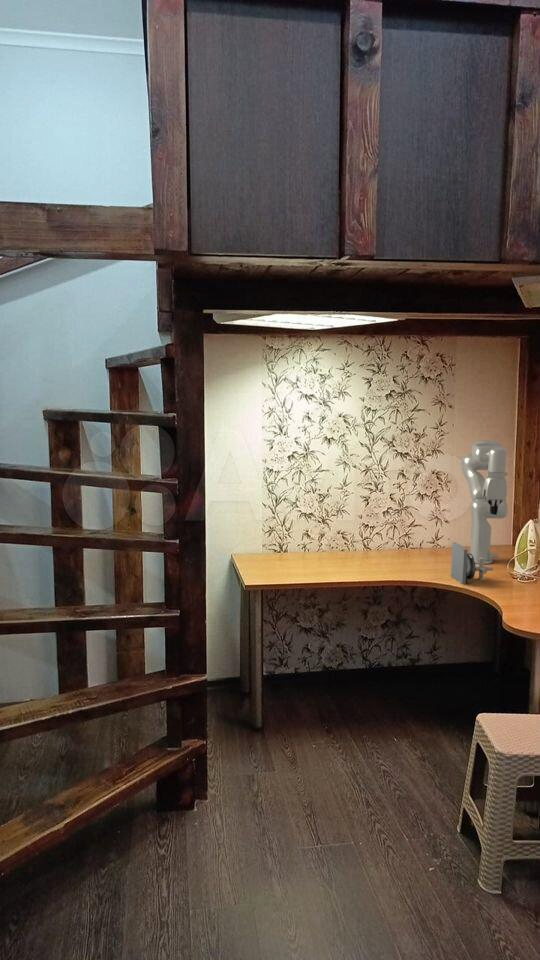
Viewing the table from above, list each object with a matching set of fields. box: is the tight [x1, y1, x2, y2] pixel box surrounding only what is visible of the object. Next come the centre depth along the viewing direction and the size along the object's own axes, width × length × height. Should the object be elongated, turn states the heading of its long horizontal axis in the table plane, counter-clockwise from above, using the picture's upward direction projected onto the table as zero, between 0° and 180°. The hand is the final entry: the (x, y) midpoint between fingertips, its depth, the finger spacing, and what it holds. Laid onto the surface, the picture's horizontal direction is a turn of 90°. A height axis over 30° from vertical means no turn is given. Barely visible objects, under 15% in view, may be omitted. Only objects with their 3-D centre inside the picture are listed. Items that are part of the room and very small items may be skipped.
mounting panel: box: [450, 541, 473, 585], centre depth 296 cm, size 6×13×16 cm, turn 7°
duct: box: [466, 552, 476, 579], centre depth 296 cm, size 4×12×12 cm, turn 7°
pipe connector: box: [475, 558, 494, 581], centre depth 297 cm, size 10×10×10 cm
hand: (493, 514), depth 305 cm, fingers closed
